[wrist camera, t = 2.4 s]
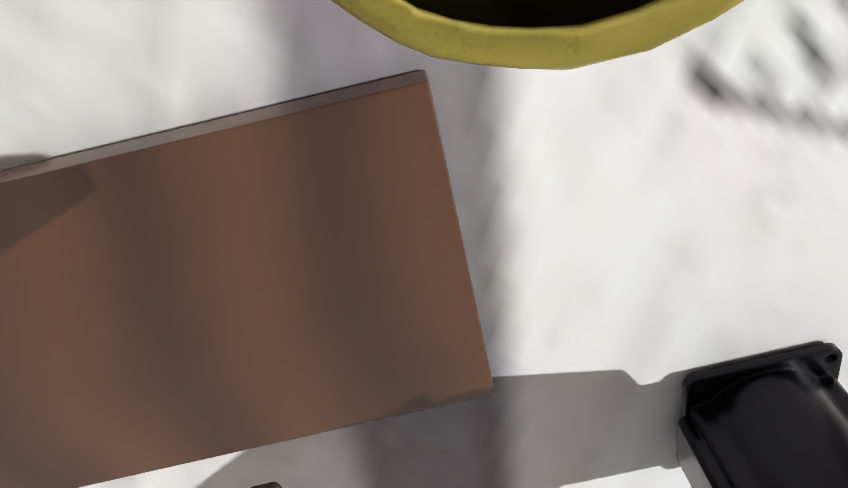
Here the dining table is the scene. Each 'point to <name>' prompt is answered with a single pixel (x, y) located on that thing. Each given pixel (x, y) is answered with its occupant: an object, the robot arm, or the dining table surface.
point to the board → (232, 287)
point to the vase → (534, 28)
